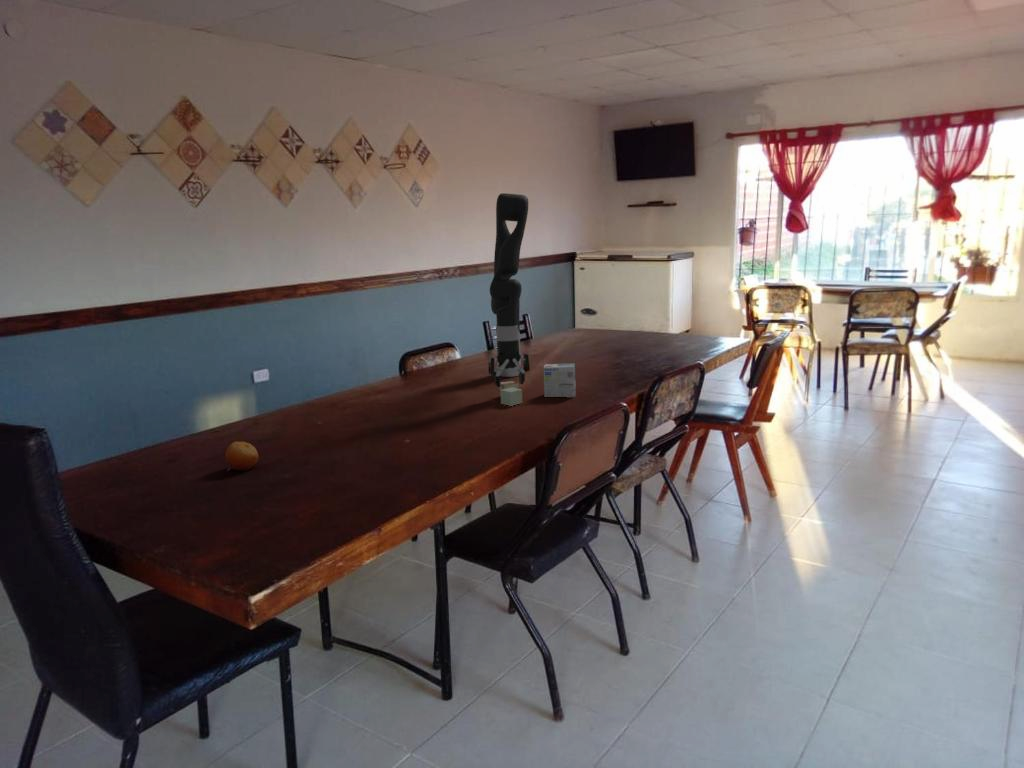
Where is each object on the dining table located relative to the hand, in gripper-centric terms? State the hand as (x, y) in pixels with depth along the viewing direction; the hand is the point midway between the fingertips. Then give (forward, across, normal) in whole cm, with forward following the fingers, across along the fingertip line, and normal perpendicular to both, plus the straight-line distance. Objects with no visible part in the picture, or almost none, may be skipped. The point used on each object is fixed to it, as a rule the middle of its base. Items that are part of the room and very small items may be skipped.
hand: (509, 385), depth 255 cm
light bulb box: (+4, -16, +7) cm, 18 cm away
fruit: (+5, +88, +39) cm, 97 cm away
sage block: (+4, +3, +10) cm, 11 cm away
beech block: (+4, 0, 0) cm, 4 cm away
